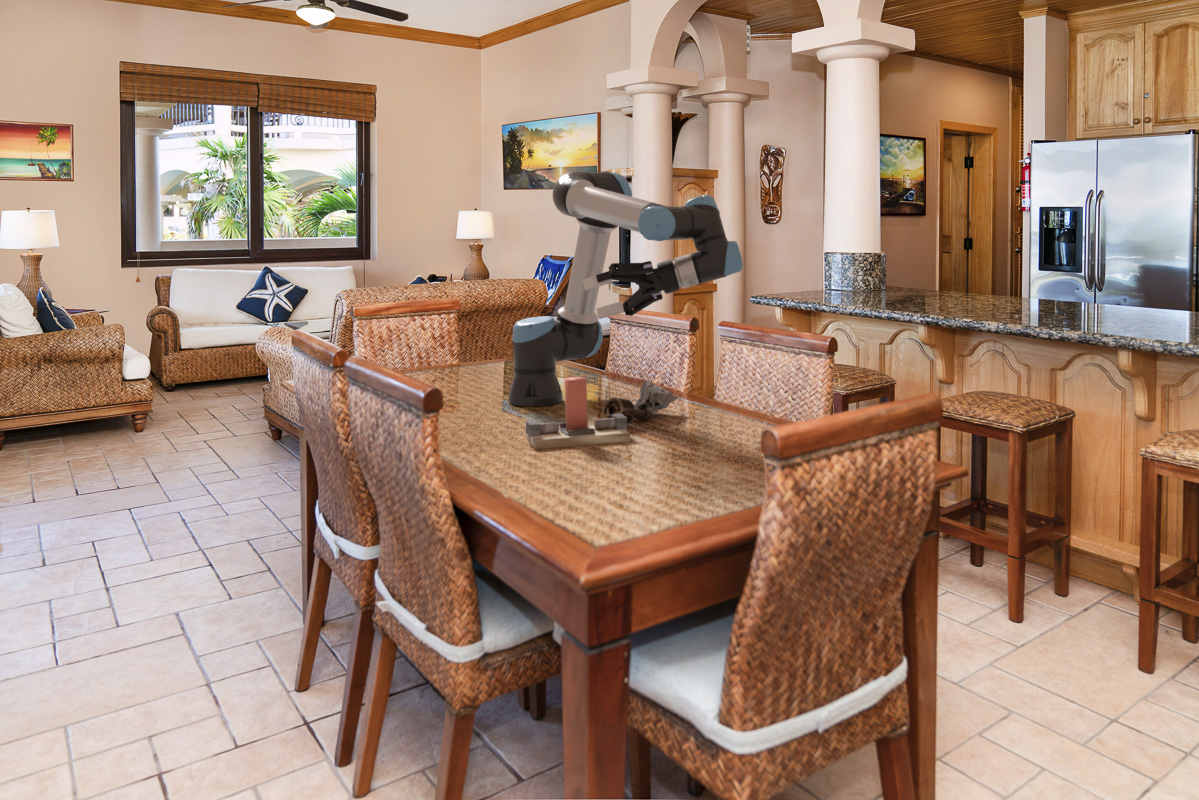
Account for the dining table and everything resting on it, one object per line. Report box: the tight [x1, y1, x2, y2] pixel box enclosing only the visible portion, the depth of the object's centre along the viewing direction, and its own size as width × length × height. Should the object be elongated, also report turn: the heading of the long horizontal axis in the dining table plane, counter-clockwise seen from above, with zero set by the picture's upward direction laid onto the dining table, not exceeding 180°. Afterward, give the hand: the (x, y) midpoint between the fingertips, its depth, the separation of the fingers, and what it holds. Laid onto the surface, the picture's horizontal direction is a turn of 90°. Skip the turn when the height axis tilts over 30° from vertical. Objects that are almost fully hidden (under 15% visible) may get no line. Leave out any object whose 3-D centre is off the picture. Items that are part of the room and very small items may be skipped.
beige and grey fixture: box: [524, 414, 631, 450], centre depth 208 cm, size 12×23×5 cm, turn 106°
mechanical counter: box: [603, 396, 653, 425], centre depth 223 cm, size 7×13×10 cm
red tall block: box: [564, 376, 589, 431], centre depth 207 cm, size 5×5×12 cm
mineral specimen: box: [633, 380, 679, 415], centre depth 233 cm, size 11×9×12 cm
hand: (590, 299), depth 215 cm, fingers open, 13 cm apart
